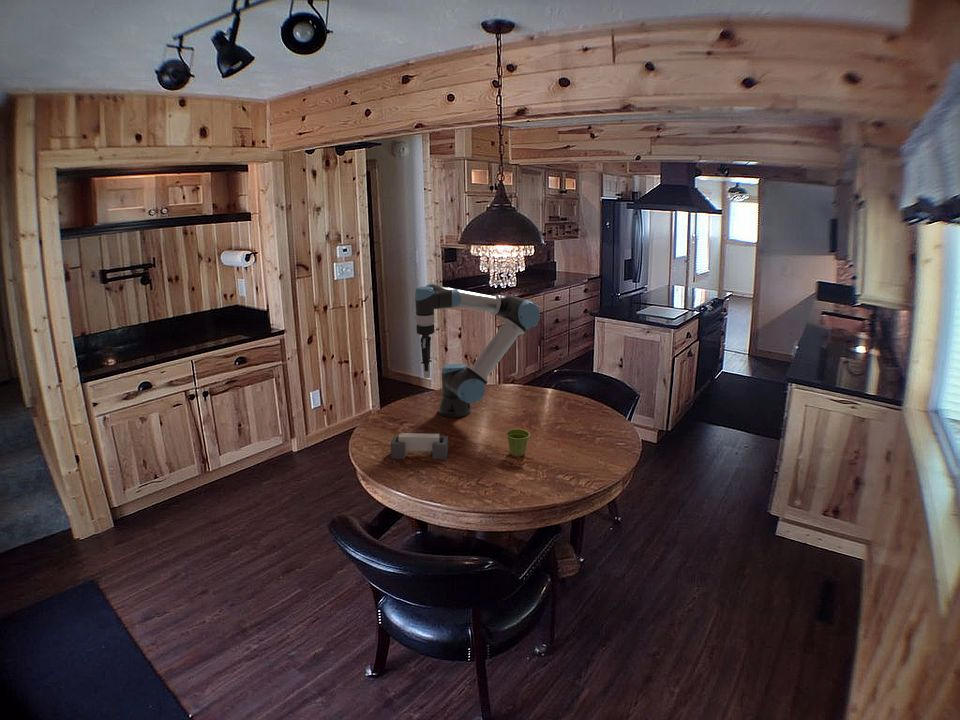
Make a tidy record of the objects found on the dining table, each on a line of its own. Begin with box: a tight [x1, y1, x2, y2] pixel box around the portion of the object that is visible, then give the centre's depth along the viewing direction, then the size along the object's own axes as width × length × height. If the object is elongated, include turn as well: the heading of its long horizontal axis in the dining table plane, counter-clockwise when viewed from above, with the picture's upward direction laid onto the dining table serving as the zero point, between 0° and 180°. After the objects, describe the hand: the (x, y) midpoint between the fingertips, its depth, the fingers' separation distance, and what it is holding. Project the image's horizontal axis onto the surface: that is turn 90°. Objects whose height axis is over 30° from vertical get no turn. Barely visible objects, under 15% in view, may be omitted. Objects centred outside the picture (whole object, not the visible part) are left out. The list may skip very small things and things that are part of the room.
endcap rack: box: [390, 434, 449, 460], centre depth 238 cm, size 22×8×6 cm, turn 87°
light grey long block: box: [398, 432, 441, 452], centre depth 237 cm, size 16×4×6 cm, turn 88°
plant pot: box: [505, 428, 531, 457], centre depth 238 cm, size 9×9×9 cm
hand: (427, 377), depth 255 cm, fingers closed
